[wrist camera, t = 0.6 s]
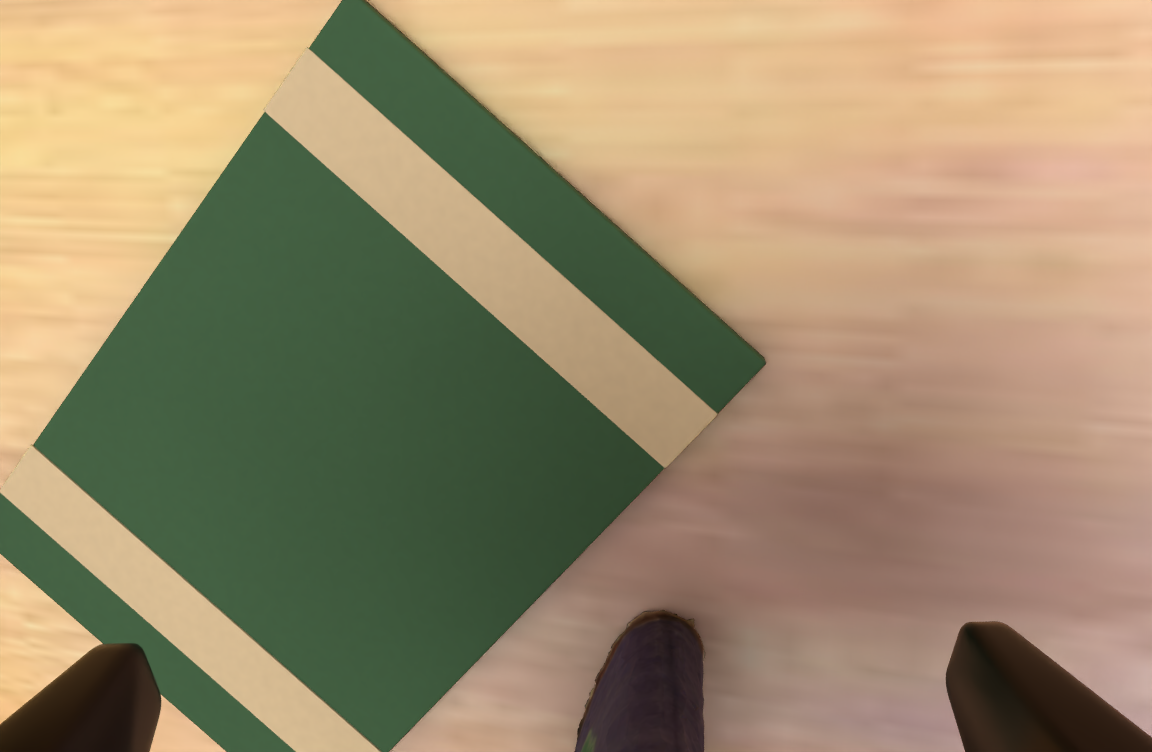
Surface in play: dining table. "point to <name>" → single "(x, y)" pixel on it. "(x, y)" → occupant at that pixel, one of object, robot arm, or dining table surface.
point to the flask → (648, 690)
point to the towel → (361, 409)
